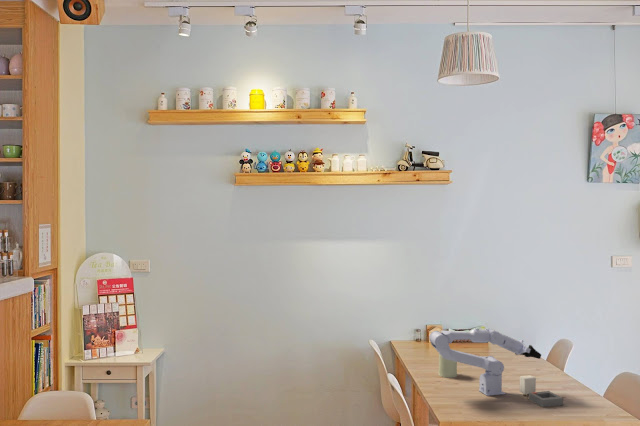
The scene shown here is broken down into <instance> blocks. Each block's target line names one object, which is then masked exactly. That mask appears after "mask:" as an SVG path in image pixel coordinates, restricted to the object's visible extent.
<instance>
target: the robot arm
mask: <svg viewBox="0 0 640 426" xmlns="http://www.w3.org/2000/svg"><path fill="white" fill-rule="evenodd" d="M428 338H429V342H430V345H431V347H433V348H434V349H435V350H436V352H437V353H438V355H439V354H440V355H441V356H442V357H443V358H444V359H447V360H451V361H456V362H457V363H459V364H464V365H468V366H473V367H477V368H481V369H483V370H484V371H485V372H484V373H481V374H480V375H479V381H478V383H479V387H478V388H479V389H478V392H480V393H483V395H485V396H487V397H488V396H500V395H506V392H504V391H503V390H502V387H503V386H502V385H503V384H502V383H503V382H502V381H503V379H502V378H503V374H502V373H503V372H504V370H505V366H504V363H503V362H502V361H500V360H499V359H497V358H495V356H492V355H488V356H484V355H482V356H480V355H477V354H473V353H469V352H464V351H459V350H455V349H452V348H451V347H450V345H451V344H452V342H453V341H456V340H458V341H459V340H460V341H461V340H464V341H465V340H466V341H467V340H470V341H471V342H472V343H483V344H484V343H486V344H487V343H491V344H492V345H497V346H498V347H500V348H503V349H505V350H506V351H508V352H511V353H514V355H515V356H519V355H520V356H524V357H525V358H534V359H539V360H540V359H541V358H542V354H541V353H540V352H539V351H537V350H536V349H535V348H534V347H533V346H532V344H529V345H528V347H527V345H525V343H524V339H520V340H517V339H515V338H512V337H511V336H508V335H506V334H504V333H500V332H499V331H497V330H495V329H493V328H485V329H479V328H478V327H475V329H471V330H470V331H458V330H457V331H455V330H444V329H443V330H434V331H431V333H430V334H429V337H428Z"/></svg>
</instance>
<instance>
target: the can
mask: <svg viewBox="0 0 640 426" xmlns="http://www.w3.org/2000/svg"><path fill="white" fill-rule="evenodd" d="M438 376H439V377H441V378H447V379H449V378H451V379H453V378H457V377H458V362H456V361H451V360H447V359H444V358H443V357H442V356H441V355H440V354H439V353H438Z"/></svg>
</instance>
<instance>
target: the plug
mask: <svg viewBox="0 0 640 426" xmlns="http://www.w3.org/2000/svg"><path fill="white" fill-rule="evenodd" d="M536 379H537V378H536V376H533V375H530V374H528V375H520V376H519V392H520V393H522V394H523V396H525V397H526V395H529V393H531V392H537V391H536V389H537V388H536V385H537V384H536V383H537V382H536Z"/></svg>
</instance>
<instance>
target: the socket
mask: <svg viewBox="0 0 640 426" xmlns="http://www.w3.org/2000/svg"><path fill="white" fill-rule="evenodd" d="M528 400H529V401H531V402H532V403H535V404H536V405H537V406H540V407H542V408H547V407H557V406H564V398H563V397H562V396H559V395H557V394H555V393H554V392H551V391H550V390H546V391H545V390H544V391H543V390H542V391H536V392H531V393H529V394H528Z"/></svg>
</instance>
